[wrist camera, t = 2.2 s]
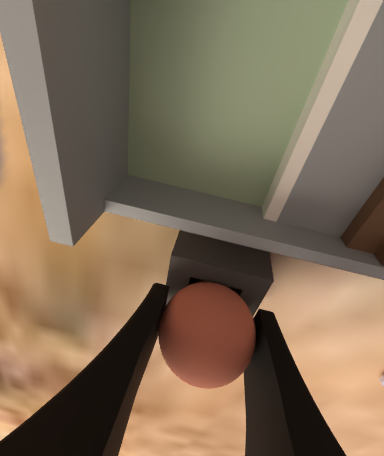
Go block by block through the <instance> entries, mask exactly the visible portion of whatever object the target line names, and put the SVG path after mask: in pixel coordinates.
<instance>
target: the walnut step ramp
mask: <svg viewBox="0 0 384 456" xmlns="http://www.w3.org/2000/svg"><path fill="white" fill-rule="evenodd" d="M340 238H341V239H342V241H343V243H344V245H345V246H346V247H347V248H351V249H355V250H359V251H364V252H368V253H372V254H374V256H375V257H376V259H377V260H378V261H379V263H380V264H381V266H384V177H383V179H382V180H381V181H380V183H379V184H378V186H377V187H376V188H375V190H374V191H373V193H372V194H371V195H370V197H369V198H368V199H367V201H366V202H365V204H364V205H363V206H362V208H361V209H360V211H359V212H358V213H357V215H356V216H355V218H354V219H353V220H352V222H351V223H350V224H349V226H348V227H347V229H346V230H345V231H344V233H343V234H342V236H341V237H340Z"/></svg>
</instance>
